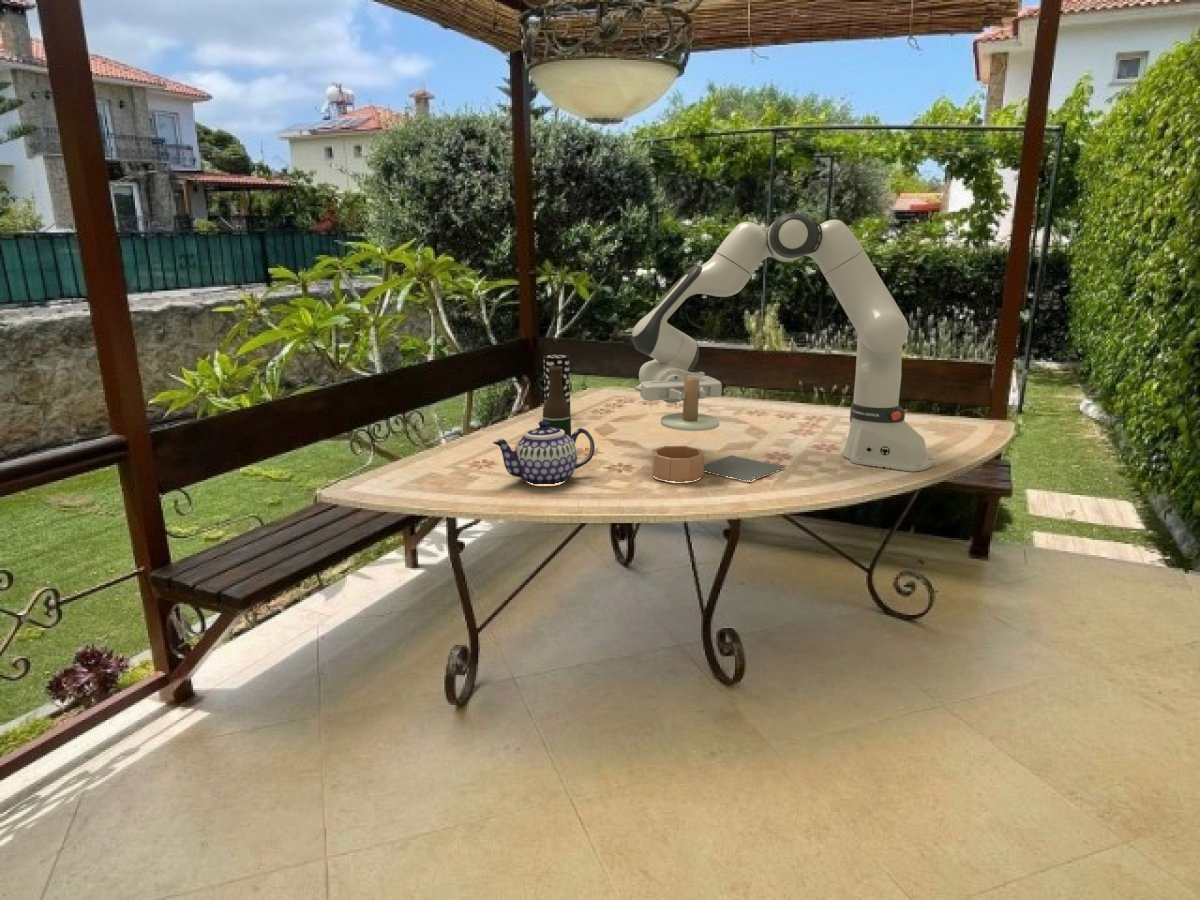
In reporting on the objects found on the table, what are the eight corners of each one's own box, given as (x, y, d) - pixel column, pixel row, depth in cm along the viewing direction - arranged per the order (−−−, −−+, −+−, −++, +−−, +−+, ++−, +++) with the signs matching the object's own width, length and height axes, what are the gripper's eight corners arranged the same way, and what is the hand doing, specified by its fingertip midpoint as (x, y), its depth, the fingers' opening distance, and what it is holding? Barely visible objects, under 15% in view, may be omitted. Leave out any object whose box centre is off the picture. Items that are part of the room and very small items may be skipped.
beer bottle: (575, 452, 202) (574, 365, 196) (566, 460, 195) (565, 369, 188) (548, 451, 204) (546, 364, 198) (538, 458, 197) (536, 368, 191)
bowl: (712, 475, 181) (712, 451, 180) (681, 487, 173) (682, 462, 171) (673, 466, 189) (673, 443, 188) (642, 476, 181) (642, 452, 179)
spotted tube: (542, 415, 247) (540, 355, 242) (566, 413, 249) (565, 354, 244) (548, 420, 239) (546, 358, 234) (573, 418, 242) (572, 357, 237)
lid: (730, 423, 179) (733, 378, 176) (695, 434, 170) (697, 386, 167) (684, 414, 189) (686, 371, 186) (648, 423, 179) (650, 378, 176)
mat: (784, 468, 186) (784, 466, 186) (749, 483, 175) (749, 481, 175) (730, 457, 197) (731, 455, 197) (694, 470, 186) (694, 468, 186)
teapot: (585, 467, 189) (585, 410, 185) (605, 484, 175) (605, 423, 172) (487, 477, 181) (485, 417, 177) (500, 495, 168) (498, 432, 164)
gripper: (632, 374, 186) (651, 384, 173) (708, 371, 191) (732, 380, 178) (632, 399, 187) (650, 411, 174) (707, 395, 193) (730, 406, 180)
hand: (692, 395), depth 176 cm, fingers closed on lid, 4 cm apart
